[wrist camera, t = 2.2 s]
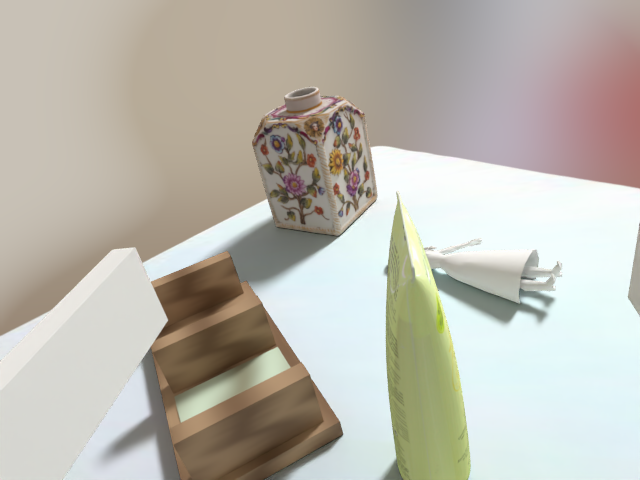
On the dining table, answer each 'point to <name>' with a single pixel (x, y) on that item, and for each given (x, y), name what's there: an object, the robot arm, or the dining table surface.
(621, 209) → the dining table surface
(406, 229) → the tube
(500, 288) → the woman figurine
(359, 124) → the decorative jar
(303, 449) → the wooden letter rack
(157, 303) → the robot arm
